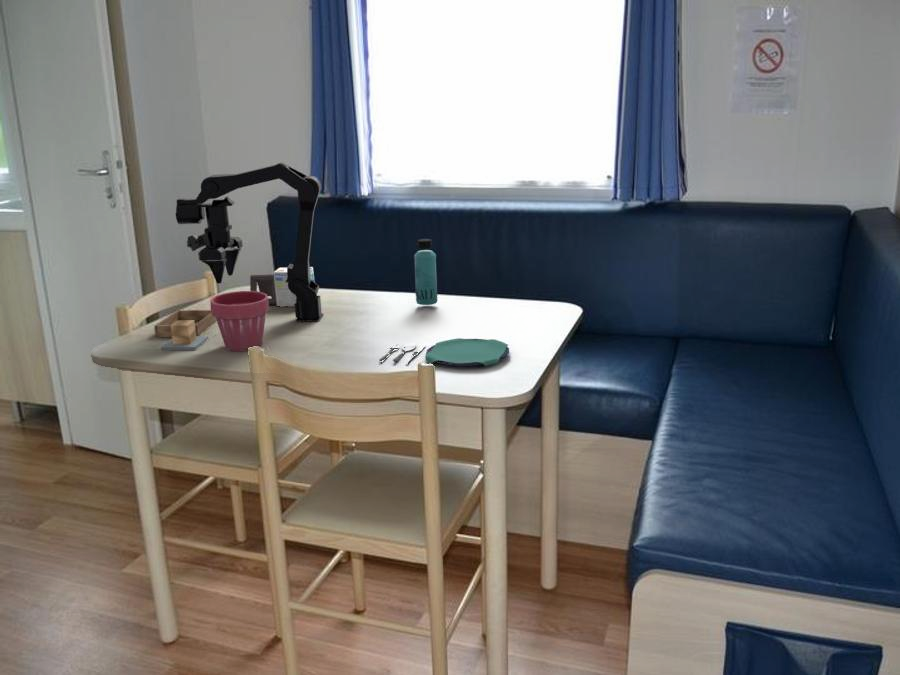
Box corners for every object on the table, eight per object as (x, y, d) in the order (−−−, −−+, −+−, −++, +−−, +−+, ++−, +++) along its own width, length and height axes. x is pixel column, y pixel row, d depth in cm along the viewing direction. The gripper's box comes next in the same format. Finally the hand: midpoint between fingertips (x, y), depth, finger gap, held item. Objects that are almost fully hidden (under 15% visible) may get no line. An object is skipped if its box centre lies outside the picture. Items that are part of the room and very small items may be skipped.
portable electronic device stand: (248, 306, 246) (245, 279, 243) (254, 299, 253) (251, 273, 251) (278, 305, 246) (275, 278, 243) (283, 299, 253) (280, 272, 251)
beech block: (196, 338, 213) (194, 320, 212) (190, 344, 209) (187, 325, 208) (179, 338, 214) (177, 320, 212) (173, 344, 209) (170, 325, 208)
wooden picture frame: (218, 319, 233) (217, 309, 232) (198, 336, 218) (196, 325, 217) (178, 320, 234) (177, 310, 233) (155, 336, 219) (154, 326, 218)
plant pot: (284, 343, 210) (279, 295, 206) (238, 358, 199) (232, 307, 196) (249, 334, 218) (244, 287, 215) (204, 348, 208) (198, 299, 204)
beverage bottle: (430, 303, 243) (428, 236, 237) (442, 307, 238) (440, 239, 232) (411, 306, 240) (408, 239, 234) (423, 311, 234) (420, 242, 228)
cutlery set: (500, 373, 184) (500, 364, 183) (374, 368, 192) (373, 358, 191) (516, 347, 202) (516, 338, 202) (400, 343, 210) (399, 334, 209)
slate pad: (208, 339, 215) (208, 336, 215) (195, 349, 207) (195, 346, 207) (175, 339, 216) (175, 336, 216) (161, 350, 208) (160, 347, 207)
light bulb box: (316, 301, 250) (314, 266, 246) (311, 307, 243) (308, 271, 240) (282, 301, 251) (279, 266, 247) (276, 307, 244) (272, 271, 241)
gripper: (201, 217, 231) (208, 272, 236) (175, 229, 213) (183, 288, 218) (240, 216, 230) (246, 271, 235) (217, 228, 212) (224, 287, 217)
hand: (224, 279), depth 226 cm, fingers open, 9 cm apart
